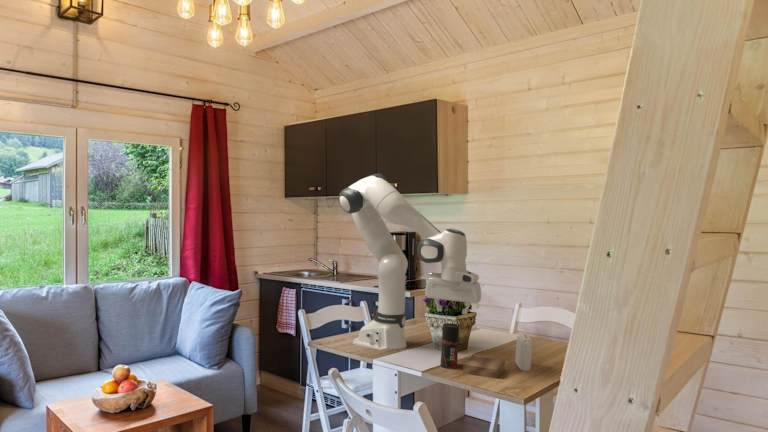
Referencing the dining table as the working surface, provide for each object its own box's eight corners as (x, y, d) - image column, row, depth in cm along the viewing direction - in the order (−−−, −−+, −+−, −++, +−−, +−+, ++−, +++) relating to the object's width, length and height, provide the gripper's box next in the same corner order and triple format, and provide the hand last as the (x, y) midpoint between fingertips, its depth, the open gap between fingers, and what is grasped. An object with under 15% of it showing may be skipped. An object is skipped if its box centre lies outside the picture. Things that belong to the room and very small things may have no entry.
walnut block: (462, 375, 203) (463, 364, 203) (471, 366, 214) (472, 355, 213) (496, 381, 198) (497, 370, 198) (504, 371, 209) (505, 360, 209)
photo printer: (513, 362, 219) (515, 330, 219) (525, 363, 219) (527, 330, 219) (519, 371, 209) (522, 337, 208) (531, 371, 209) (534, 338, 208)
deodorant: (447, 369, 207) (449, 328, 206) (437, 364, 212) (439, 324, 211) (460, 367, 210) (462, 326, 209) (449, 362, 215) (451, 322, 214)
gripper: (423, 273, 210) (421, 310, 211) (478, 278, 202) (476, 317, 203) (429, 270, 216) (427, 307, 217) (483, 276, 208) (481, 314, 209)
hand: (452, 312), depth 210 cm, fingers open, 8 cm apart
